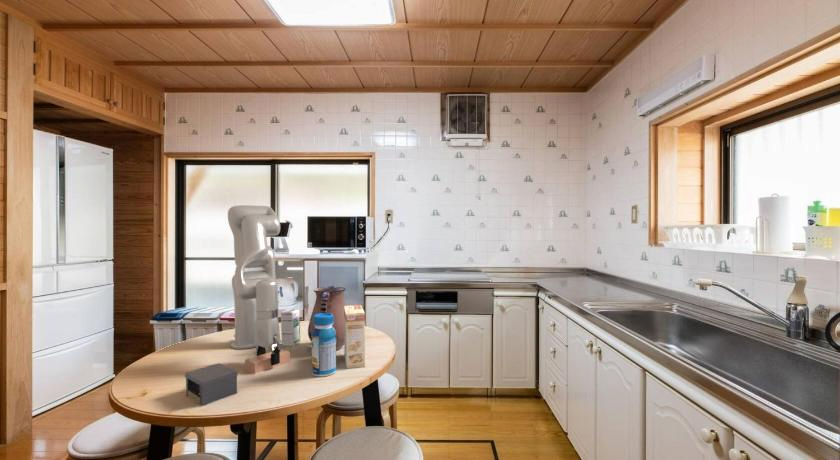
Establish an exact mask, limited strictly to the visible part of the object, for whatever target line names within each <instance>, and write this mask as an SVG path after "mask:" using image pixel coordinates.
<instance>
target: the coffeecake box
mask: <svg viewBox="0 0 840 460" xmlns="http://www.w3.org/2000/svg"><path fill="white" fill-rule="evenodd" d="M365 317H366V313H365V310H364V309H363V306H362V305H361V304H353V305H352V304H351V305H346V306H344V345H343V346H344V347H343V348H344V351H343V352H344V362H345V368H346V369H355V368H366V327H365V326H366V320H365V319H366V318H365Z"/></svg>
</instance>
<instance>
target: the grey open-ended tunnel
mask: <svg viewBox="0 0 840 460" xmlns="http://www.w3.org/2000/svg"><path fill="white" fill-rule="evenodd" d="M238 375H239V373H238V370H236V369H233V368H231V367H230V366H226V365H225V364H223V363H220V362H219V363H214V364H212V365H208V366H207V365H206V366H204V367H200V368H196V369H194V370H191V371H187V372H186V371H185V372H184V377H185V393H186V395H185V396H186V397H187V398H189V399H191V400H192V401H194V402H195V403H196V404H197V405H200V406H201V407H203V406H206V405H208V404H211V403H215V402H217V401H220V400H222V399H225V398H227V397H230V396H233V395H236V394H238Z"/></svg>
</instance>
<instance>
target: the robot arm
mask: <svg viewBox="0 0 840 460" xmlns="http://www.w3.org/2000/svg"><path fill="white" fill-rule="evenodd" d="M227 222H228V226H229V227H230V230H231V233H232V235H233V246H234V247H233V248H234V249H233V252H234V262H235V266H236V267H235V271H234V275H233V276H232V278H231V286H232V292H233V300H234V305H233V306H234V335H233V337H234V341H233V342H232V343H231V344H230V347H231V348H232V349H235V350H246V349H247V350H248V349H253V348H255V349H256V356H259V355H262V354H266V351H267V350H266V349H269V350H270V352H272V354H271V365H272V366H273V365H276V364H279V363H280V352H281V351H280V350H281V349H282V347H283V345H282V344H283V343H282V339H281V335H280V333H281V332H280V331H281V330H280V321H279V285H278V284H279V283H278V281H277V278H276V260H275V259H276V258H275V252H274V249H273V248H272V247H271V246H269V245H268V241H267V240H268V239H267V237H270V236H271V237H274V236H278V235H279V234H280V233H281V222H280V219H279V217H278V215H277V214H276V212H275V211H274V209H273V208H272V207H271V206H267V205H251V204H250V205H249V204H248V205H246V204H245V205H233V206H231V207H230V208H229V209H228V211H227ZM255 268H261V270H246V271H245V269H255ZM262 269H263V270H262Z"/></svg>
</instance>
